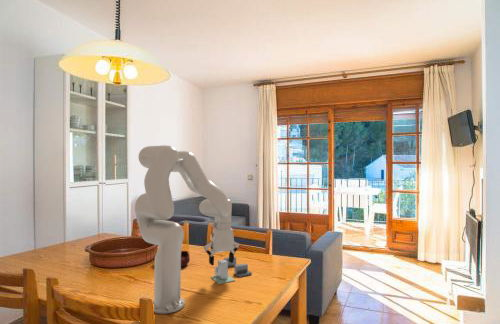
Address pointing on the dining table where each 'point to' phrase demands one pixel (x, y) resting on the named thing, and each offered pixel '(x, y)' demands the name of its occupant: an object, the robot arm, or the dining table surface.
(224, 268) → the hook
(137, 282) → the dining table surface
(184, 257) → the ashtray
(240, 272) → the vise
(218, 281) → the mat
